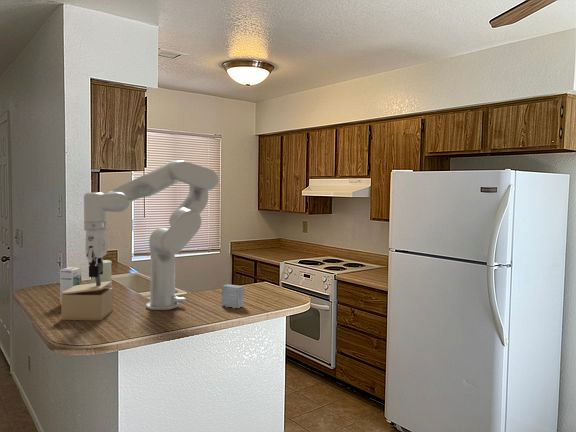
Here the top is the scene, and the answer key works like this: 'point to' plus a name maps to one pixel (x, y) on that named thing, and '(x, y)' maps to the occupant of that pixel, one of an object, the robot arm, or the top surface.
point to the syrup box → (69, 278)
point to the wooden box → (87, 305)
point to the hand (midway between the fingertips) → (96, 275)
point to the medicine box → (232, 296)
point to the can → (105, 272)
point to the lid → (89, 287)
